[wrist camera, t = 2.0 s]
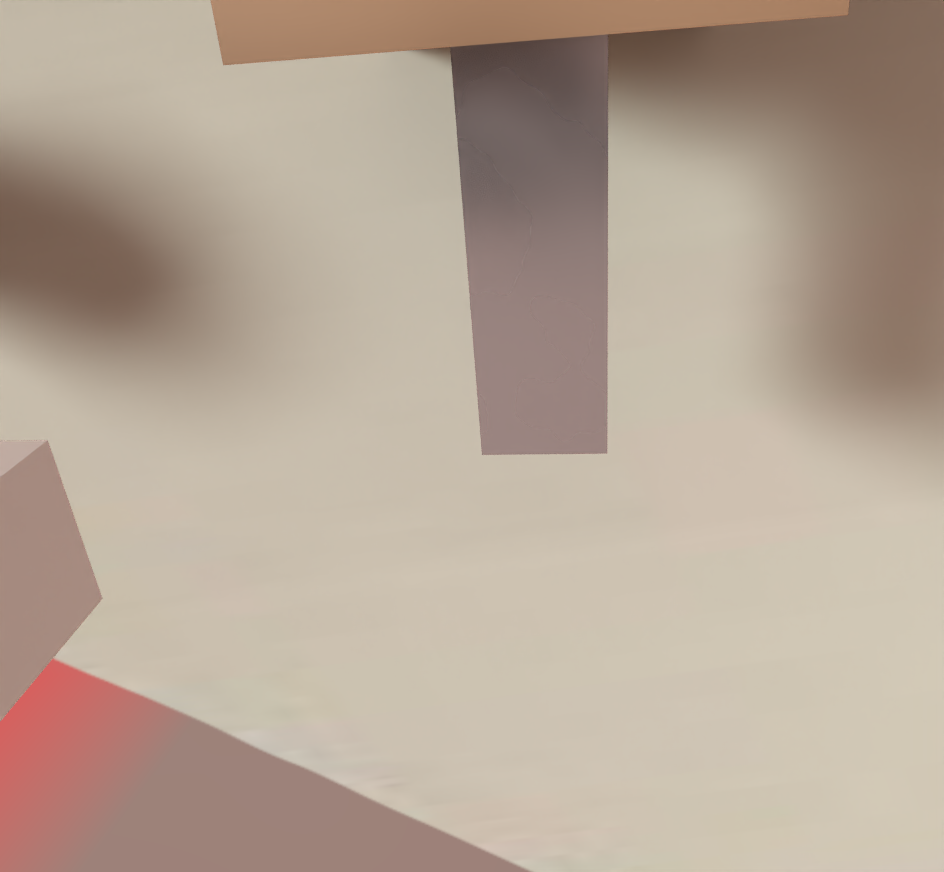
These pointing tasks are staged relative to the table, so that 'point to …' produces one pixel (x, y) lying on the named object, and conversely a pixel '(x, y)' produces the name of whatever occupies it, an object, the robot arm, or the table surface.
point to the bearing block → (466, 22)
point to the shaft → (536, 239)
